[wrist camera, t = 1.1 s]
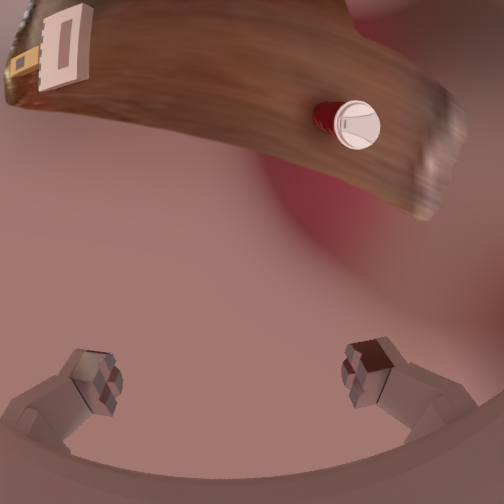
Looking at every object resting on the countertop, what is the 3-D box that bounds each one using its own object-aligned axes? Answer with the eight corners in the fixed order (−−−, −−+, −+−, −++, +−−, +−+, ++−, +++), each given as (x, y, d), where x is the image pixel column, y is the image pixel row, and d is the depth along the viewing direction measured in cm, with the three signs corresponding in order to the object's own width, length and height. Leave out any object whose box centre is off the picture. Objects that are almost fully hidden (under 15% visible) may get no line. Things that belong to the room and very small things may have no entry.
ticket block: (56, 22, 25) (43, 18, 21) (93, 8, 26) (82, 2, 22) (52, 90, 34) (38, 91, 29) (88, 79, 35) (76, 78, 30)
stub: (24, 59, 27) (10, 59, 23) (52, 47, 28) (38, 45, 24) (24, 75, 29) (9, 76, 25) (51, 64, 30) (37, 63, 26)
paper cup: (306, 134, 47) (335, 149, 35) (308, 95, 42) (339, 97, 31) (344, 136, 47) (380, 153, 36) (346, 99, 43) (386, 105, 32)
